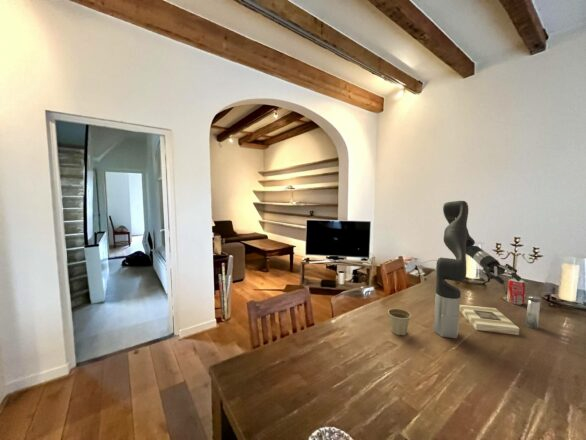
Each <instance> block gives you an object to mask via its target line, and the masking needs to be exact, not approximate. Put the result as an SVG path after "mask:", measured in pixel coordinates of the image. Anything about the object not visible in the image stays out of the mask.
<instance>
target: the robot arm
mask: <svg viewBox="0 0 586 440" xmlns="http://www.w3.org/2000/svg"><path fill="white" fill-rule="evenodd" d="M442 209H443V210H442V212H443V215H444V218H445V220H446V221H447V223H448V225H447V226H446V227H445V229H444V233H443V243H444V244H445V246H446V248H447V249H448V251H450V252H451V253H452V255H454V257H455V258H449V257H439V258H438V259H437V260H436V269H435V274H436V282H435V295H434V296H435V298H434V313H433V314H434V317H433V332H434V333H436V334H437V335H439V336H440V337H442V338H443V337H444V338H451V339H458V336H459V323H460V305H461V295H462V294H461V290H460V288H457V287H455V286H454V285H453V284H450V283H449V282H447V281H446V280H448V281H454V282H463V281H465V279H466V276H467V257H466V256H469V257H470V258H472V260H473V261H475V262H476V263H477V265H479V267H481V268H483V269H482V271H481V272H482V274H484V275H485V276H486V277H487V278H488V279H489V280H495V281H496V282H497V283H499V284H501V285H504V284H505V282H506V281H505V280H504V279H503V278H501V277H500V276H499V275H506V276H510V277H511V278H512V279H516V280H517V281H520V280H522V277H521V276H520V275H518V274H517V272H518V269H517V268H515V267H513V266H511V265H510V264H509V263H505V264H504V265H503V264H501V263H500V262H499V260H497V259H496V258H495V257H494V256H492V255H491V254H490V253H488V252H486V251H485V250H483V248H481V247H479V246H478V245H475V244H476V242H475V240H474V238H473V237H472V236H471V235H470V233H469V230H468V227H467V223H468V217H469V205H468V202H467V201H465V200H455V201H448V202H445V203H444V204H443V206H442Z"/></svg>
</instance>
